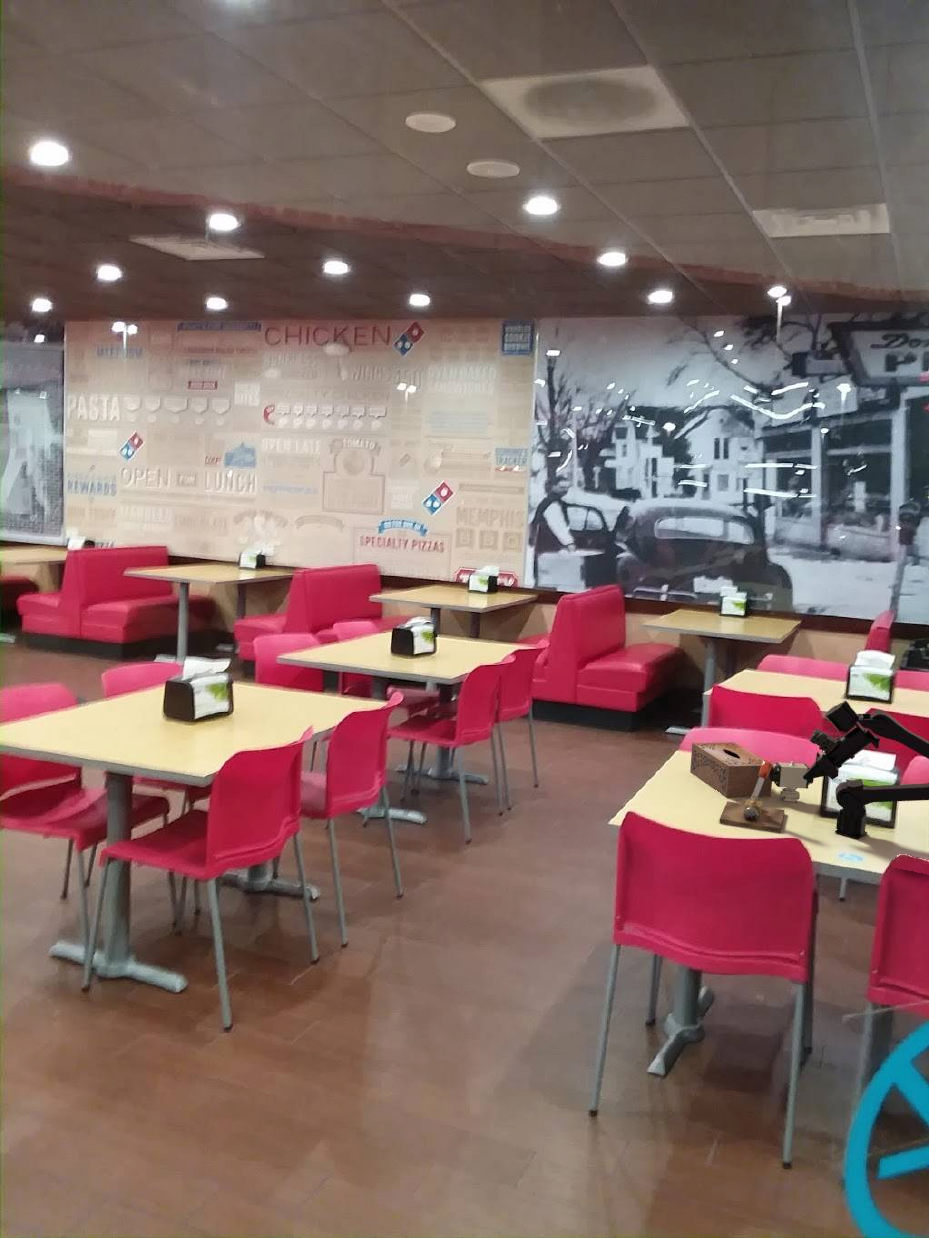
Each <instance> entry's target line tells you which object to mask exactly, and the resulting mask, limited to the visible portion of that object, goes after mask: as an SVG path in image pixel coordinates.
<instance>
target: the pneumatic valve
mask: <svg viewBox="0 0 929 1238" xmlns="http://www.w3.org/2000/svg"><path fill="white" fill-rule="evenodd" d="M773 765H774V764H773ZM809 768H810V767H809V766H808V765H807V764H806V763H799V762H798V763H796V762H795V761H790V762H779V761H778V762H777V761H775V765H774V766H773V767H771V770H770V780H771V781H772V783H774V785H776V787H778V788H782V789H781V790H780V792H779V797H780V799H783V801H784V803H797V802H798V800H800V798H801V795H800V794H801V793H800V791H797V789H806V790H807V789H809V786H810V785H812V784H814V781H815V780H814V779H815V778H813V779H808V780H804V778H803V775H804V774H805V773H806V772H807V771H808V770H809Z"/></svg>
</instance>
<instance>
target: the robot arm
mask: <svg viewBox="0 0 929 1238" xmlns="http://www.w3.org/2000/svg"><path fill="white" fill-rule="evenodd" d="M824 717H825V718H826V719H827V720H828V721H829V722H830V723H831V724H832V725H833V726H834V728H835V729H836V730H837V732H843V733H845V734H844V735H843V736H837V737H835V738H834V737H833V736H831V735H829V734H827V733H826V732H824V731H823V730H821V729H819V728H815V730H814V731H813V732H812V734H811V735H810V737H809V742H810V743H812V744H813V745H814V744H815V745H816V746H818V749H819V750H822V752H820V753H819V751H817V752H816V754H815V755H816V757H815V760H814V763H813V764H812V765H811V766H810V767H809V770H808V771H807V772H806V773H805V774H804V775H803V778H804V780H808V779H813V778H814V779H817V778H822V777H829V778H830V780H832V781H834V780H835V779H836V778H838V777H839V774H840V773H839V770H840V769H841V768H842V767H843V764H844V763H846V762H847V761H849V760H850V759H851V760H853V759H855V758H856V755H858V753H859V754H860V752H862V751H863V750H864V749H866V748H867V747H868V746H869V745H873V747H874V748H875V749H879V747H880V746H879V745H880V741H881V738H885V739H887V740H891V741H894V742H898V743H900V744H902V745H903V746H906V747H907V748H908V749H911V750H912V751H913V752H916V753H917V754H919V755H920V756H923V757H924V758H926V759H927V760H929V741H928V740H927V739H925V738H924V737H922V736H920V735H918V734H917V733H914V732H913V731H911V730H909V729H907V728H906V727H905V726H903V725H902V724H901V723H900V722H899V721H898V720H897V719H896V718H895V717H893V716H892V715H891V714H890V713H888V712H887V711H885V710H882V709H878V710H874V711H872V712H871V713H857V712H856V711H855V710H854V709H853V707H852V706H851V705H850V703H849V702H848V701H847V700H844V701H842V702H841V703H837V705H834V706H832V707H831V708H830V709H829V710H828V711H826V713H825V715H824ZM875 735H877V736H875ZM834 793H835V799H836V803H837V804H838V806H839V807H841V808H840V809H839V813H838V814H837V816H836V824H835V825H836V826H835V828H836V830H834V833H835V834H839V835H842V836H845V837H849V838H853V839H857V840H859V839H861V838H863V837H865V836H866V835H868V832H867V831H866V825H867V816H868V813H867V807H866V806H867V805H869V804H873V803H888V802H889V803H890V802H891V803H892V802H893V803H895V802H916V801H917V802H918V801H920V802H921V801H929V782H927V783H910V784H890V785H887V784H886V785H867V784H865V783H863V778H857V779H853V780H851V779H845V781H842V782H840V783H838V785H837V786H836V787H835V792H834Z"/></svg>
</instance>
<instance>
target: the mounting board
mask: <svg viewBox="0 0 929 1238" xmlns="http://www.w3.org/2000/svg"><path fill="white" fill-rule="evenodd" d="M744 805H745V803H741V802H734V801H726V803H725V805H724V808H723V810H722V812H721V815H720V817H719V821H718V823H719V824H722V825H729V826H737V827H743V828H749V829H755V830H760V829H761V831H769V832H772V833H773V832H774V833H780V832H781V829H782V825H783V820H784V815H785V809H781V808H773V807H768V806H763V805H762V813H761V816H760V818H758V819H757V821H749V820H745V819H744V816H743V814H744Z"/></svg>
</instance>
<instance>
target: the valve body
mask: <svg viewBox="0 0 929 1238" xmlns="http://www.w3.org/2000/svg"><path fill="white" fill-rule="evenodd" d="M750 798H751V800H750ZM744 804H745V805H744V814H743V816H744V819H745V820H749V821H757V819H758V818H760V816H761V813H762V806H763V800H762V799H761V797H758V799H757V801H756V798H754V797H748V799H745V802H744Z"/></svg>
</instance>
